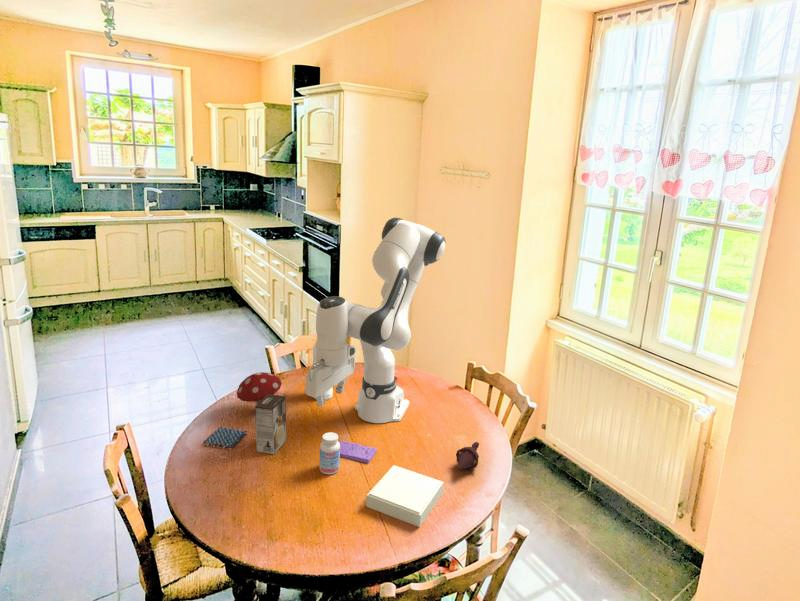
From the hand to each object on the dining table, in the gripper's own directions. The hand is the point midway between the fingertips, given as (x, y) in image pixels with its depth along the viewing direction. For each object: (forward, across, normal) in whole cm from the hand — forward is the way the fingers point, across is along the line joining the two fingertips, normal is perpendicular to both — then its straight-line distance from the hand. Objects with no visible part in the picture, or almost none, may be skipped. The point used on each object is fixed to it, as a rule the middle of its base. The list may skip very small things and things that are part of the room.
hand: (330, 398), depth 147 cm
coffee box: (+24, +1, +23) cm, 33 cm away
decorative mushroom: (+24, +16, +41) cm, 50 cm away
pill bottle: (+24, 0, 0) cm, 24 cm away
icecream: (+24, +22, -36) cm, 48 cm away
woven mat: (+24, -4, +38) cm, 45 cm away
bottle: (+24, +38, +29) cm, 53 cm away
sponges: (+24, +11, -2) cm, 27 cm away
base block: (+23, -1, -26) cm, 35 cm away
